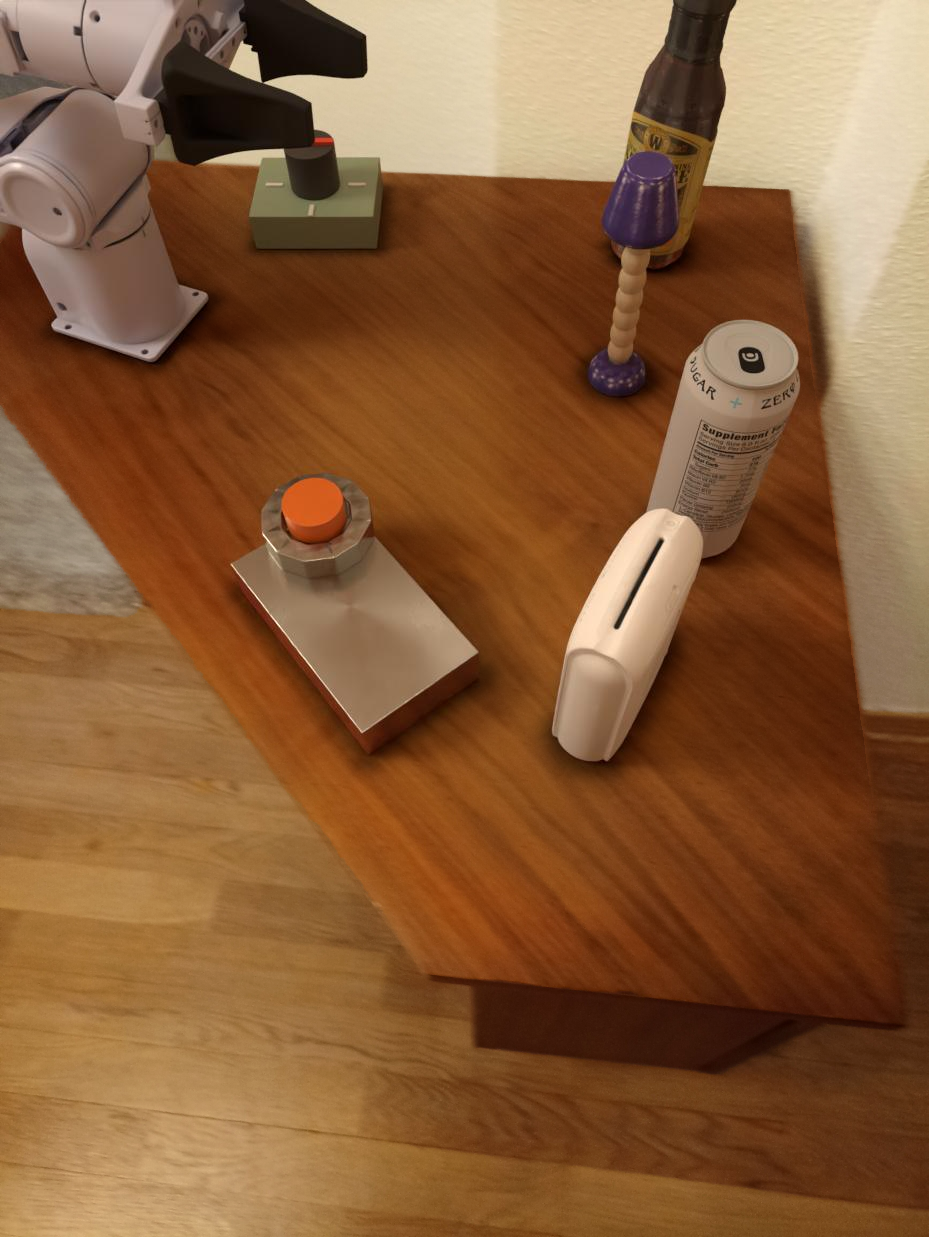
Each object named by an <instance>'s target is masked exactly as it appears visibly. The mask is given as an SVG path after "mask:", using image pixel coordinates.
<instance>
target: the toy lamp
mask: <svg viewBox="0 0 929 1237" xmlns="http://www.w3.org/2000/svg"><path fill="white" fill-rule="evenodd" d="M606 201H607V202H606V204H605V207H604V208H603V212H602V215H601V216H602V217H601V226H602V229H603V231H604V233H605V234H606V235H607V237H608V238H609V239H610V241H611V240H612V241H614V242H616V243H617V244H619V245H621V246H624V247H625V249H624V251H623V253H622V258H621V259H620V261H621V262H620V263H621V269H620V271H619V275H618V288H617V291H616V293H615V294H616V295H615V307H614V308H613V311H612V325H611V327H610V332H609V337H610V341H609V343H608V345H607V347H606V348H604V349H602V350H601V351H599V352H598V353H597V354H595V355H594V356H593V358H592V360H591V361H590V363H589V366H588V369H587V379H588V381H589V384H590V385H591V387H593V388H594V389H595V390H596V391H597V392H599V393H601V394H603V395H605V396H609V397H616V398H620V397H628V396H630V395H633V394H635V393H637V392H638V391H639V390H640V389H642V387H643V386H644V384H645V382H646V378H647V377H646V376H647V373H646V372H647V371H646V366H645V363H644V361H643V359H642V357H641V356H640V355H639V354H638V353H637V352H635V351H634V340H635V338H636V335H637V324H638V322H639V319H640V307H641V306H642V303H643V299H644V291H643V289H644V287H645V285H646V282H647V269H648V268H647V266H648V264H649V261H650V251H649V249H653V248H656V247H659V246H662V245H664V244H666V243H667V242H668V241H670V240H671V239H672V238H673V237H674V235H675V234H676V232H677V230H678V226H679V206H678V193H677V181H676V172H675V167H674V164H673V163H672V161H671V160H670V159H669V158H668V157H667V156H665V155H664V154H662V153H659V152H654V151H642V152H638V153H635V154H633V155H632V156H630V157H629V158H628V159H627V160H626V161H625V163H624V164H623V163H622V166H621V167H620V170H619V173H618V175H617V178H616V179H615V182H614V184H613V186H612V189H611V191H610V194H609V196H608V198H607V200H606Z"/></svg>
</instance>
